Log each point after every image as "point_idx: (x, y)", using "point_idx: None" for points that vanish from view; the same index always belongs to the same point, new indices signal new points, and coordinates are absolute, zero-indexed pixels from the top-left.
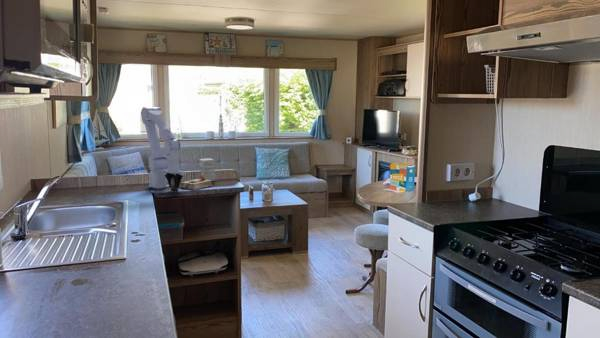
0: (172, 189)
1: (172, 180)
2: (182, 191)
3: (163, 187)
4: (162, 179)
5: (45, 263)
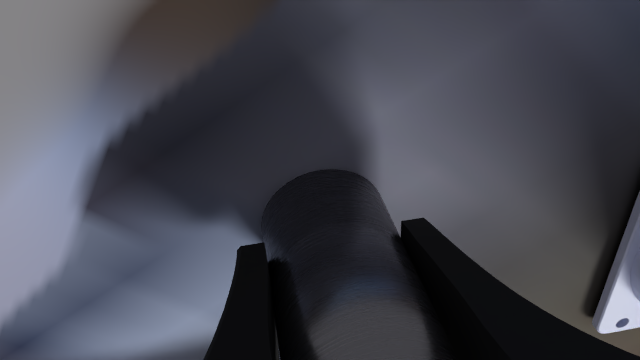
0: (314, 192)
1: (348, 351)
2: (140, 262)
3: (632, 219)
4: None
5: None
